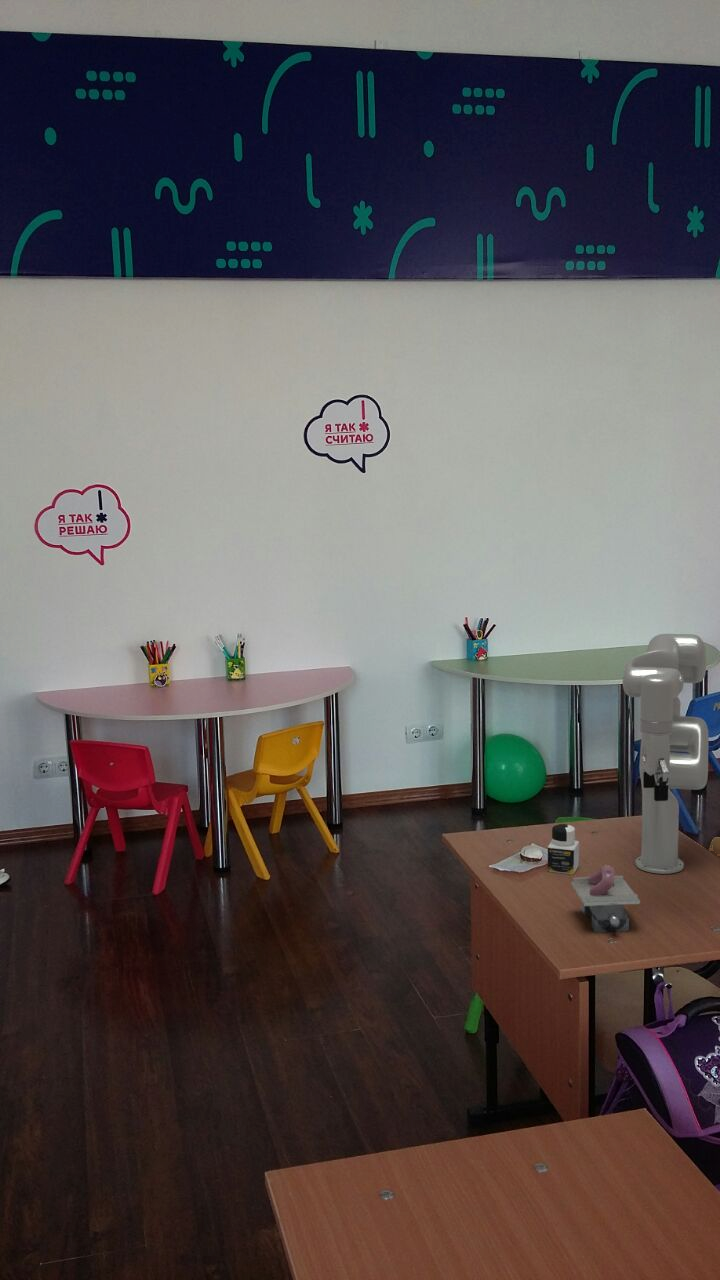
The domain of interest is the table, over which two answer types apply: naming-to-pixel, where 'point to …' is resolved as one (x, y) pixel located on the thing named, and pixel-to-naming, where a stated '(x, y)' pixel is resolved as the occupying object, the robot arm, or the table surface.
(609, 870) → the video game controller
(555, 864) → the medicine bottle
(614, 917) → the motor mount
